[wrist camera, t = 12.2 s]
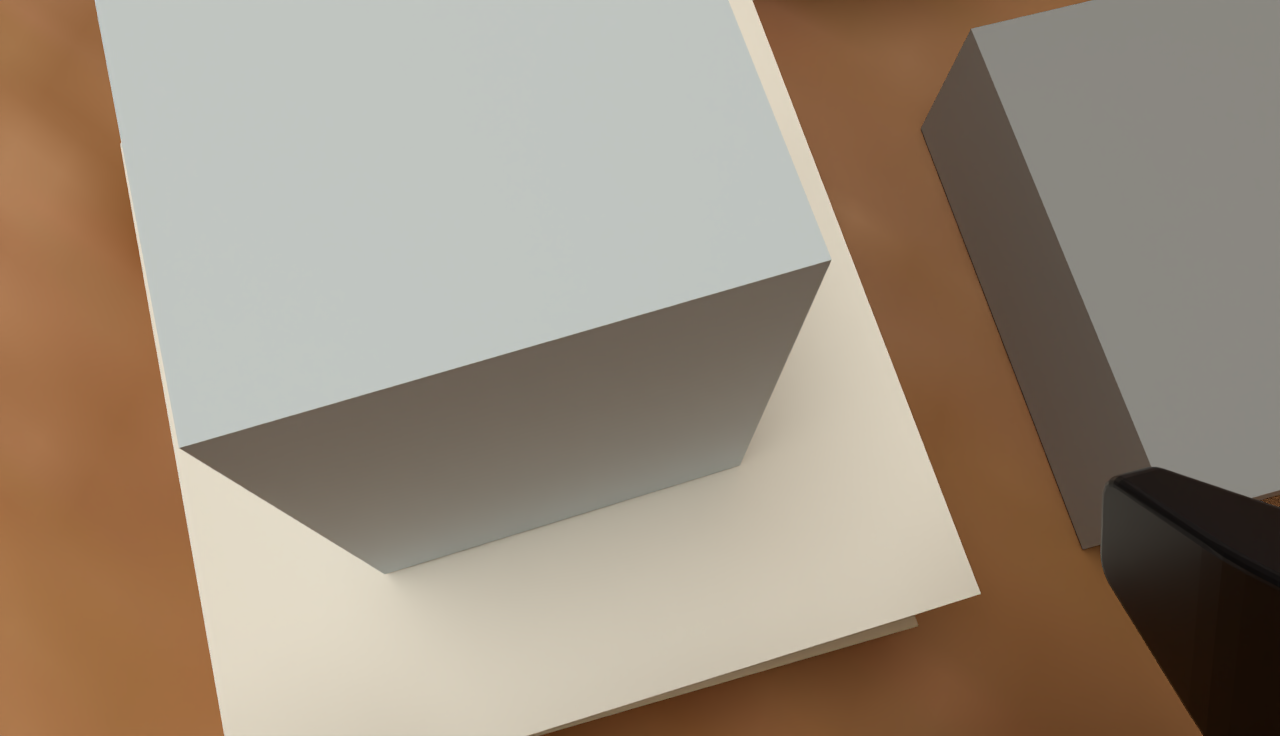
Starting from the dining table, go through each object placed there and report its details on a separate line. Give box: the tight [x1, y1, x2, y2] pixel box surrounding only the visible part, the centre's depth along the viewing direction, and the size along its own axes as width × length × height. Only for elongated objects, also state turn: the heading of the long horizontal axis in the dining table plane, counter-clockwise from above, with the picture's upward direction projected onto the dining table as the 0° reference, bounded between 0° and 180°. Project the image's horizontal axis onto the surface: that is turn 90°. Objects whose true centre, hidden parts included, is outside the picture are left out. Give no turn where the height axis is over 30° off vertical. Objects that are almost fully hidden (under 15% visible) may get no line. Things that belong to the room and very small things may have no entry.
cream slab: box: [120, 0, 981, 736], centre depth 17 cm, size 10×10×3 cm
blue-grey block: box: [95, 0, 832, 574], centre depth 12 cm, size 5×5×7 cm
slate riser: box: [921, 0, 1280, 549], centre depth 20 cm, size 9×9×4 cm
